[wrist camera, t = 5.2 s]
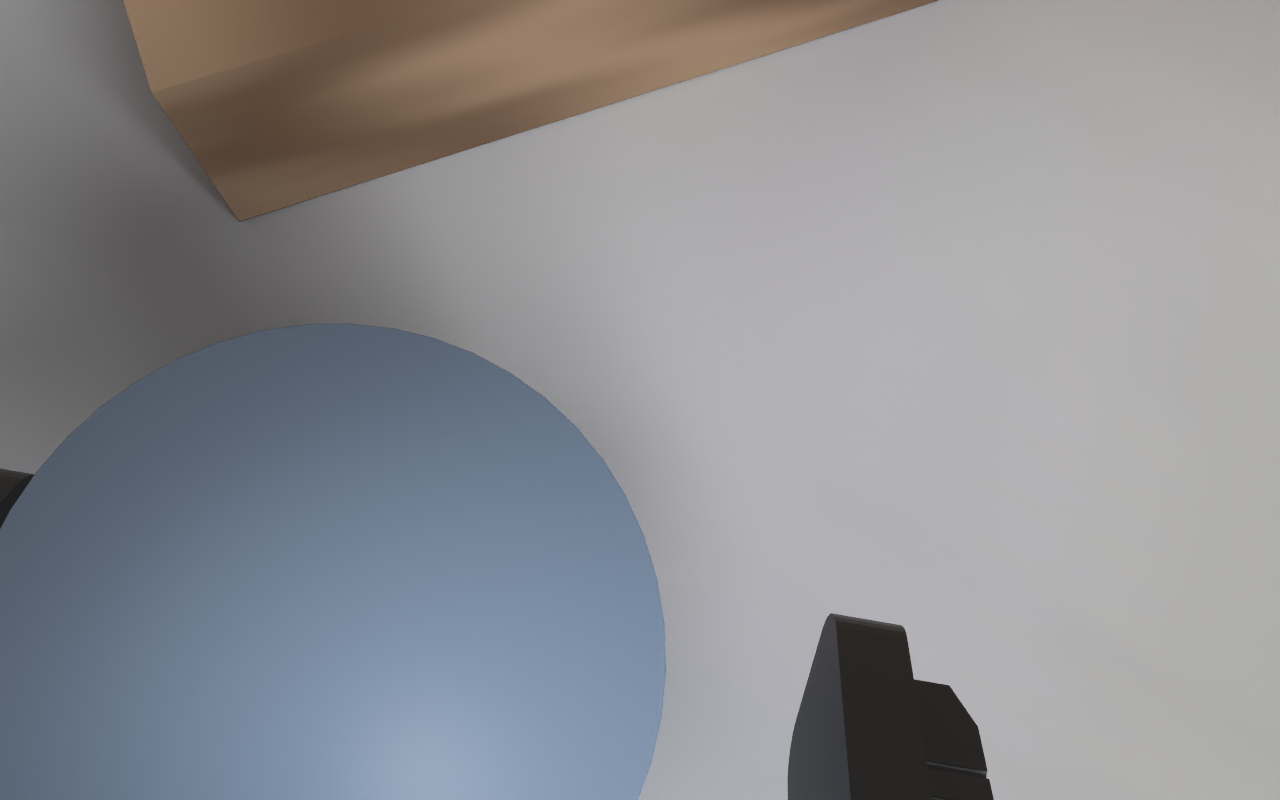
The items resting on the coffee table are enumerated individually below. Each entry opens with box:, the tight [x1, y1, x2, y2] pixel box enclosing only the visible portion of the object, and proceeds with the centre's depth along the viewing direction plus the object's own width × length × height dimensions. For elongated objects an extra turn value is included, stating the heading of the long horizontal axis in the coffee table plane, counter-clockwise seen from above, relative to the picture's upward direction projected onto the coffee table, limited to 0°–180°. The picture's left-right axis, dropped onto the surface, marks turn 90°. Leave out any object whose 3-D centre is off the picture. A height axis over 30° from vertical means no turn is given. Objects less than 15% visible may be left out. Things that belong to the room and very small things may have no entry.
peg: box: [0, 324, 666, 800], centre depth 13 cm, size 4×4×10 cm
